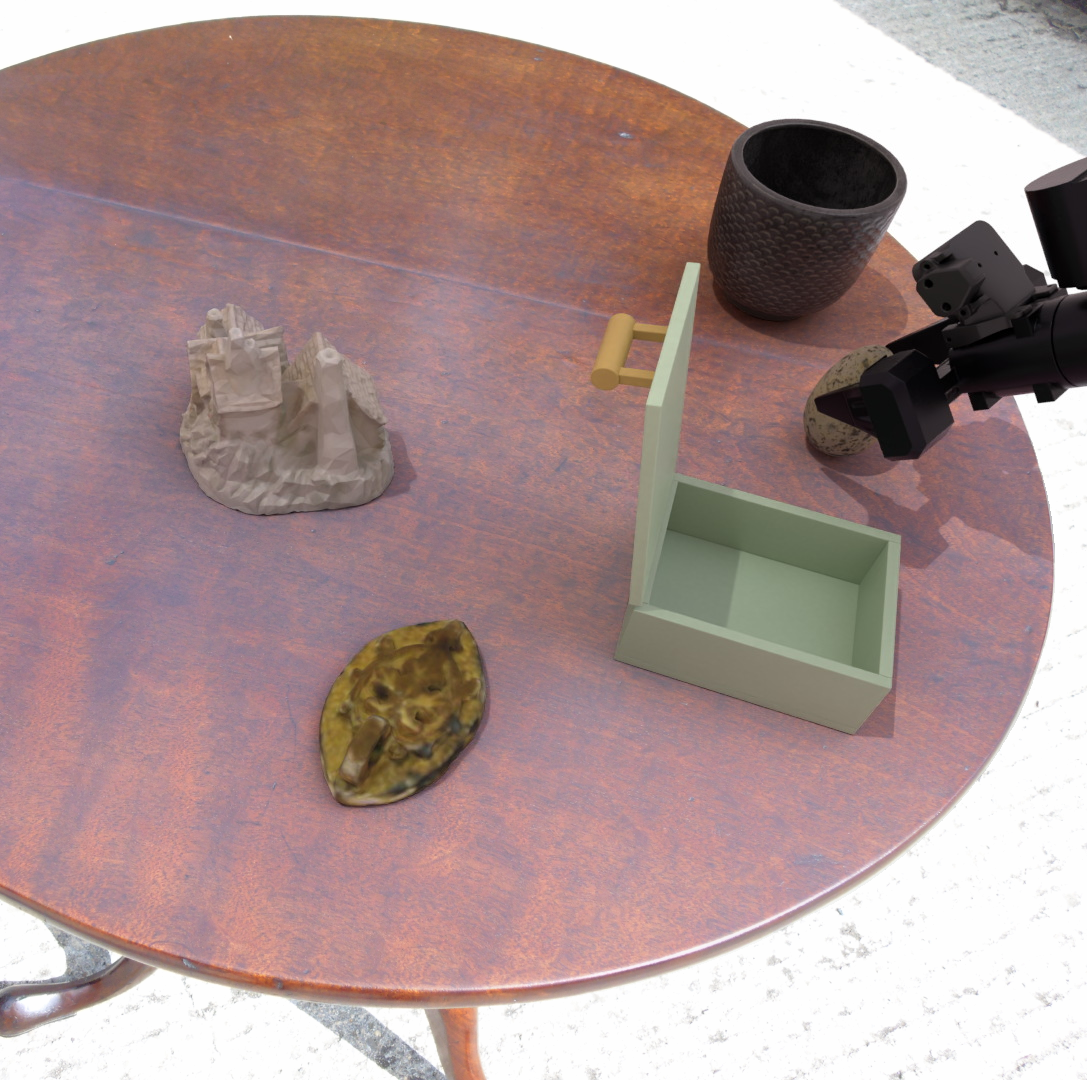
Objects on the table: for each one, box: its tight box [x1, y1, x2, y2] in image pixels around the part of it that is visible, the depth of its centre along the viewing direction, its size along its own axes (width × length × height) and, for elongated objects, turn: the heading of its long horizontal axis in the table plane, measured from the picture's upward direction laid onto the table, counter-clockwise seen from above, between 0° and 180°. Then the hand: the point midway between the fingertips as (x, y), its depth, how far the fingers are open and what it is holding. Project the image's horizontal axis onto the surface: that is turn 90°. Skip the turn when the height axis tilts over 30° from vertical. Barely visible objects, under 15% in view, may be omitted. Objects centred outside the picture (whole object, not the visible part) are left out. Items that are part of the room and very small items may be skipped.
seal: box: [318, 618, 487, 807], centre depth 66 cm, size 9×5×15 cm
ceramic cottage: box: [178, 302, 395, 516], centre depth 77 cm, size 16×16×15 cm
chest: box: [613, 471, 902, 736], centre depth 71 cm, size 16×13×6 cm
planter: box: [706, 118, 908, 322], centre depth 91 cm, size 14×14×13 cm
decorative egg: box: [802, 344, 893, 458], centre depth 80 cm, size 6×6×10 cm
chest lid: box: [589, 261, 702, 606], centre depth 64 cm, size 16×13×4 cm
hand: (852, 377), depth 79 cm, fingers open, 9 cm apart
